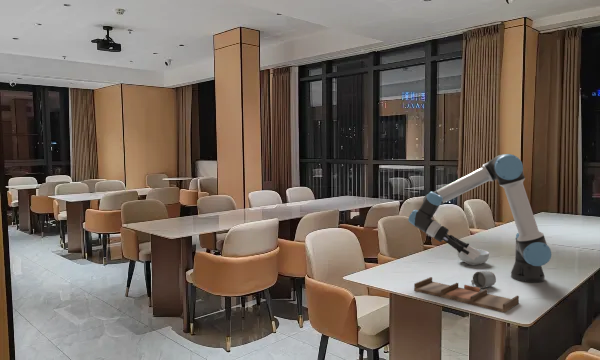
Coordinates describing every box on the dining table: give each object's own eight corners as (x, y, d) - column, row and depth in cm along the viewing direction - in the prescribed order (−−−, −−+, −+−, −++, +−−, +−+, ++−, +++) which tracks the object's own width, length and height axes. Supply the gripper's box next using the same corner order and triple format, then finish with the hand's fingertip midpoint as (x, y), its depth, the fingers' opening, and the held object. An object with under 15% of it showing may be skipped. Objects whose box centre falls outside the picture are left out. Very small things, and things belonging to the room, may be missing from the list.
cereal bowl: (467, 267, 248) (468, 255, 247) (451, 260, 264) (451, 248, 264) (495, 266, 251) (495, 253, 251) (477, 259, 267) (477, 247, 267)
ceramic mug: (497, 287, 212) (497, 271, 212) (485, 290, 208) (485, 273, 208) (478, 282, 221) (478, 266, 221) (466, 284, 217) (467, 269, 217)
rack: (519, 303, 190) (519, 295, 190) (504, 312, 179) (505, 304, 179) (431, 283, 219) (431, 276, 219) (414, 290, 208) (414, 283, 208)
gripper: (439, 237, 233) (476, 260, 224) (428, 239, 212) (469, 265, 202) (446, 224, 232) (484, 248, 223) (436, 225, 210) (478, 251, 201)
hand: (477, 256), depth 212 cm, fingers open, 13 cm apart
